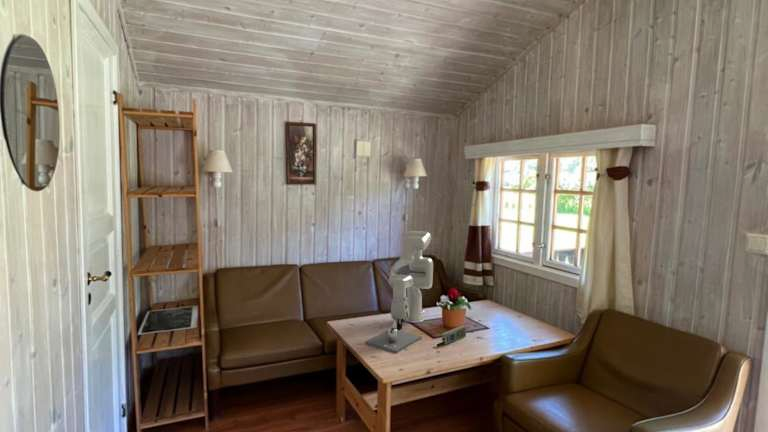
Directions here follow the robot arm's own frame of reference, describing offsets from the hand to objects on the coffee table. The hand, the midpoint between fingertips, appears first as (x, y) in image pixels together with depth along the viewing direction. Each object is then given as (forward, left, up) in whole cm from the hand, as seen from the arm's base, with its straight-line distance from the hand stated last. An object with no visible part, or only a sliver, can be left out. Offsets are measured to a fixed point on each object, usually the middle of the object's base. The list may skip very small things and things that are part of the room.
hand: (399, 329), depth 252 cm
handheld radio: (-16, +26, -7) cm, 31 cm away
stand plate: (+4, -1, -6) cm, 7 cm away
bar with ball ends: (+3, -2, -4) cm, 5 cm away
